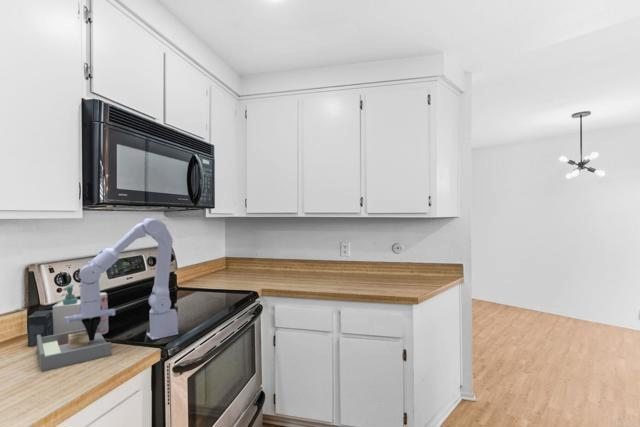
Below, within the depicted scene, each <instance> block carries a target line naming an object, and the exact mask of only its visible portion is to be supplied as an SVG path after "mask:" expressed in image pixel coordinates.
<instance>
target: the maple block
mask: <svg viewBox="0 0 640 427" xmlns="http://www.w3.org/2000/svg"><path fill="white" fill-rule="evenodd" d="M68 345H69V347H70V349H74V348H79V347H84V346H88V335H87V333H86V331H85V332H80V333H75V334H69V335H68Z"/></svg>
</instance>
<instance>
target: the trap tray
mask: <svg viewBox="0 0 640 427" xmlns="http://www.w3.org/2000/svg"><path fill="white" fill-rule="evenodd" d="M85 331H86V333H87V330H86V329H82V330H77V331H72V332H66V333H61V334H56V335H50V336H45V337H41V335H37V346H36V350H37V357H38V361H39V368H40V372H45V371H49V370H52V369H57V368H62V367H66V366H70V365H74V364H80V363H83V362H87V361H91V360H95V359H100V358H105V357H108V356H112V342H111V341H109V342H107V341H106V339H105V338H104V336H103V334H102V335H101V333H100V327H99V326H98V328H97V330H96V333H95V337H94V340H93V341H89V337H88V346H84V347H79V348H74V349H70V347H69V345H68V335H69V334H75V333H80V332H85ZM87 335H88V333H87Z"/></svg>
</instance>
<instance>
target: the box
mask: <svg viewBox="0 0 640 427" xmlns="http://www.w3.org/2000/svg"><path fill="white" fill-rule="evenodd" d="M37 335H41V337H45V336H50V335H53V309H47V310H35V311H34V312H32V313H31V314H30V315H28V316H27V347H29V348H30V347H37Z"/></svg>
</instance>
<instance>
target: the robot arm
mask: <svg viewBox="0 0 640 427" xmlns="http://www.w3.org/2000/svg"><path fill="white" fill-rule="evenodd" d="M147 236H150V237H151V238H152V239H153V240H155V242H157V252H156V254H157V255H156V263H155V274H154V284H153V286H152V290H151V291H152V292H151V294H150V295H149V297H148V304H149V306H150V307H151V308H150V309H149V312H148V313H149V332H146V336H147V337H148V338H150V339H151V340H152V341H154V340H159V339H163V338H167V337H172V336H175V335H179V327H178V326H179V323H178V322H179V319H178V317H179V316H178V312H177V310H176V309H175V308H171V306H172V301H171V298H170V289H169V283H170V282H169V281H170V274H171V273H170V271H171V261H172V251H173V237H172V235H171V233H170V232H169V229H168V228H167V225H166V224H165V223H164V222H163V221H162V220H160V219H159V218H157V217H146V218H144V219H143V220H142V221H140V222H139V223H137V224H136V225H135V226H133V227H132V228H131V229H130V230H129V231H128V232H126V234H125V235H124V236H122V237H121V238H120V239H119V240H118V241H117V242H116V243H115V244H114V245H113V246H112V247H106V248H104V249H100V250H99V251H98V254H97V255H96V256H95V257H94V258H92V259H91V260H88V261H87V265H84V266H83V267H81V269H79V272H78V275H79V278H80V288H79V293H80V298H79V299H80V300H81V313H80V314H76V315H71V316H66V317H65V323H66V324H68V323H70V322H76V321H82V323H83V324H84V326H85V328H86V330H87V333H88V337H89V341H93V340H94V337H95V333H96V330H97V328H98V325H99V323H100V321H101V319H100V317H105V316H108V317H110V316H112V317H113V316H116V309H115V308H108V310H100V293H101V286H100V281H99V280H100V278H101V274H103V273H105V272H107V270H109V269H110V268H111V267H112V266H113V265H114V264H116V262H118V261H119V256H120V254H121V253H122V252H123V251H124V250H125V249H126V248H128V247H129V246H130V245H131V244H132V243H134V242H135V241H136V240H137V239H140V238H141V239H142V238H146V237H147Z"/></svg>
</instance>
